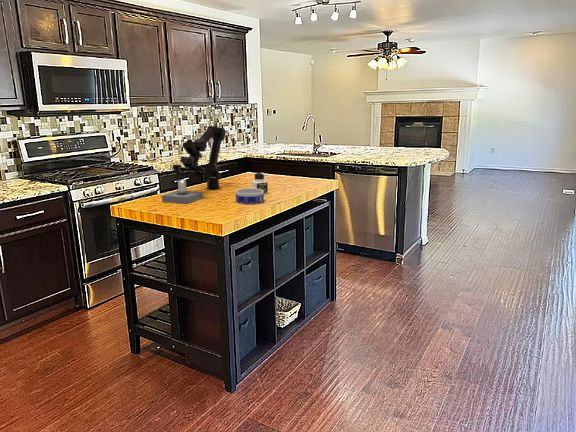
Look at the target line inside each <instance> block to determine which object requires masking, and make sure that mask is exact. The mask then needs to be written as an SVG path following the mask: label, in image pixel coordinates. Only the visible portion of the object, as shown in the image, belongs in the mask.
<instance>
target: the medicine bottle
mask: <svg viewBox="0 0 576 432" xmlns="http://www.w3.org/2000/svg"><path fill="white" fill-rule="evenodd" d="M251 182H252V183H251V185H252V186H251V188H256V189H262V190H263V191H264V195H266V194H269V192H268V191H269V187H268V186H269V183H268V181H266V175H265V173H264V172H257V173H256V172H255V174H254V180H252V181H251Z"/></svg>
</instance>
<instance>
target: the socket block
mask: <svg viewBox="0 0 576 432" xmlns="http://www.w3.org/2000/svg"><path fill="white" fill-rule="evenodd" d="M203 198H204V193H203V191H195V190H187V194H186V195H179V191H178V189H177V190H174V191H171V192H168V193H165V194H163V195H161V201H162V203H174V204H184V205H185V204H186V205H189V204H191V203H193V202H196V201H198V200H201V199H203Z"/></svg>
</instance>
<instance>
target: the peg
mask: <svg viewBox="0 0 576 432" xmlns="http://www.w3.org/2000/svg"><path fill="white" fill-rule="evenodd" d="M177 187H178V189H177V190H178V191H179V195H186V194H187V191H188V190H187V189H188V188H187V180H186V179H180V180H178V182H177Z"/></svg>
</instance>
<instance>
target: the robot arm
mask: <svg viewBox="0 0 576 432" xmlns="http://www.w3.org/2000/svg"><path fill="white" fill-rule="evenodd" d="M206 128H207V129H206V130H205V131H204V132H202V133H203V134H202V135H201V136H200V137H199V138H197V139H195V140H193V139H189V138H188V139H187V140H186V141H184V142H183V144H182V148H183V149H184V150H185V152H186V153H187V154H188V155H189V156H181V157H180V159H179V160H180V161H179V162H180V163H182V165H183V166H182V165H181V164H173V166H172V169H173V171H174V173H176V174H175V175H176V176H175V177H176V178H175V179H176V180H175V181H176V182H177V183H178V180H181V178H182V176H183V173H184V172H192V173H193V174H192V177H191V179H190V183H191V184H193V183H194V182H195V181H196V180H198V179H199V178H200V177H203V176H204V179H205V180H206V188H207V189H208V190H210V191H212V190H220V189H221V188H220V180H221V177H222V174H221V173H220V171H219V165H218V160H219V154H220V150H221V144H222V142H223V141H224V140H225V138H226V134H227V130H226V129H225V128H224V127H219V126H216V125H208V126H207V127H206ZM211 139H212V144H211V149H210V150H211V151H210V155H209V161H208V162H207V163H205V164H204V166H203V165H199V160H200V159H202V158H203V156H202V153H201V152H205V151H206V149H207V147H208V142H209V141H210V140H211Z"/></svg>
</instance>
